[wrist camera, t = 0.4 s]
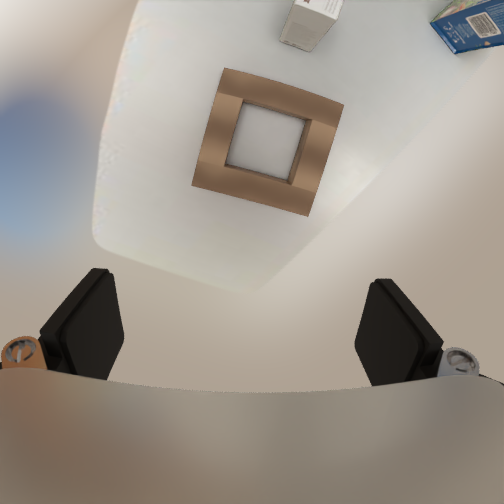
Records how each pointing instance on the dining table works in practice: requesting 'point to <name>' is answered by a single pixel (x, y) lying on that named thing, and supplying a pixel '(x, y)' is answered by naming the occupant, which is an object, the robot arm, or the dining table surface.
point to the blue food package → (471, 24)
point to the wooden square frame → (307, 156)
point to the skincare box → (309, 22)
